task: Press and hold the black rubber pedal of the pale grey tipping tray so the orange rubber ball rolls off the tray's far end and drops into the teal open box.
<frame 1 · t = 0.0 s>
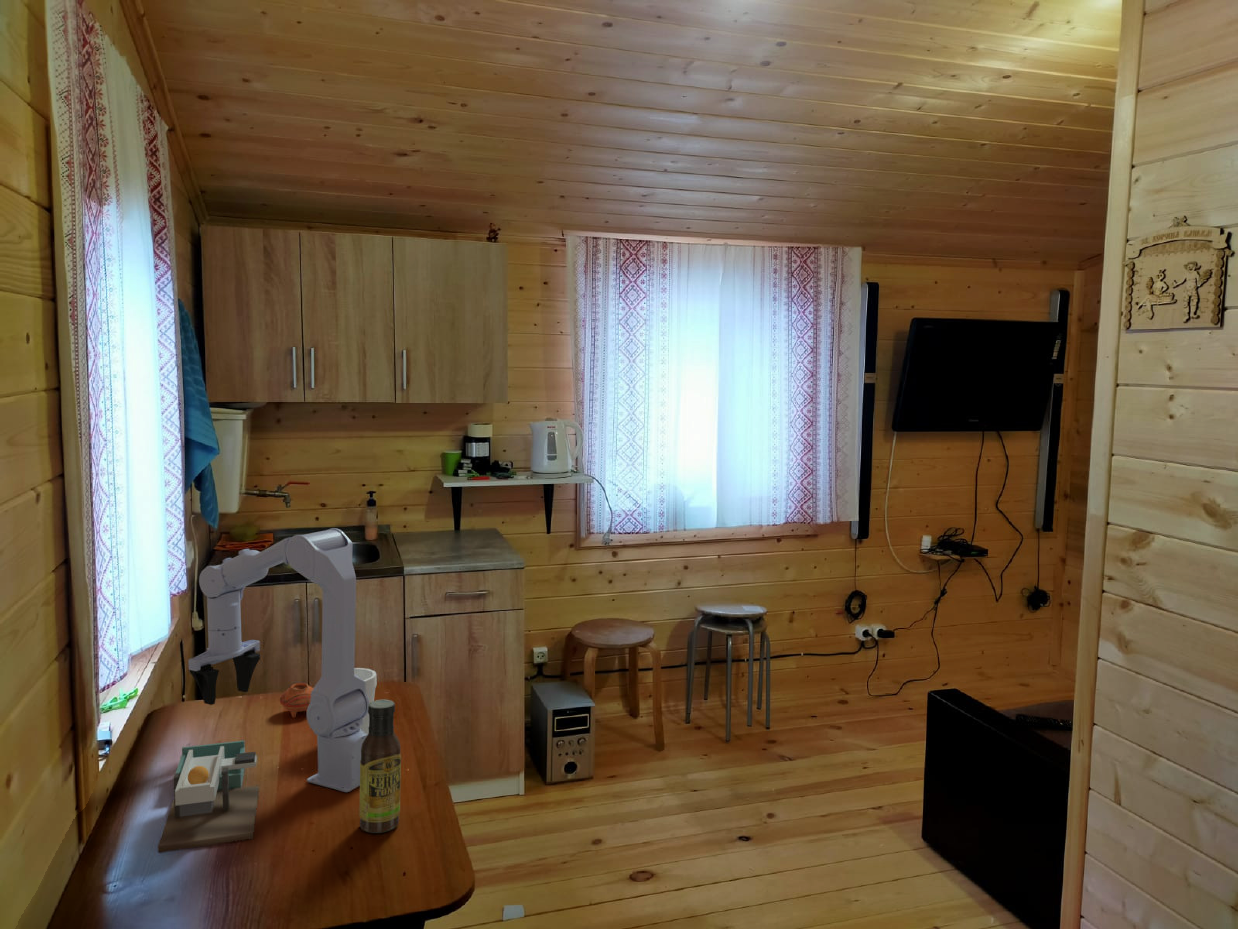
hand: (226, 697, 168), 10 cm above the table, tool pointing down, fingers open, 7 cm apart
ball: (198, 776, 138), point 8 cm above the table, touching tray
sauce bottle: (380, 827, 140), on the table
pot: (300, 714, 188), on the table
stand: (202, 818, 142), on the table
foam cup: (352, 741, 174), on the table
teal open box: (211, 782, 155), on the table
tray: (219, 776, 142), point 6 cm above the table, hinge at 0.0°, touching ball
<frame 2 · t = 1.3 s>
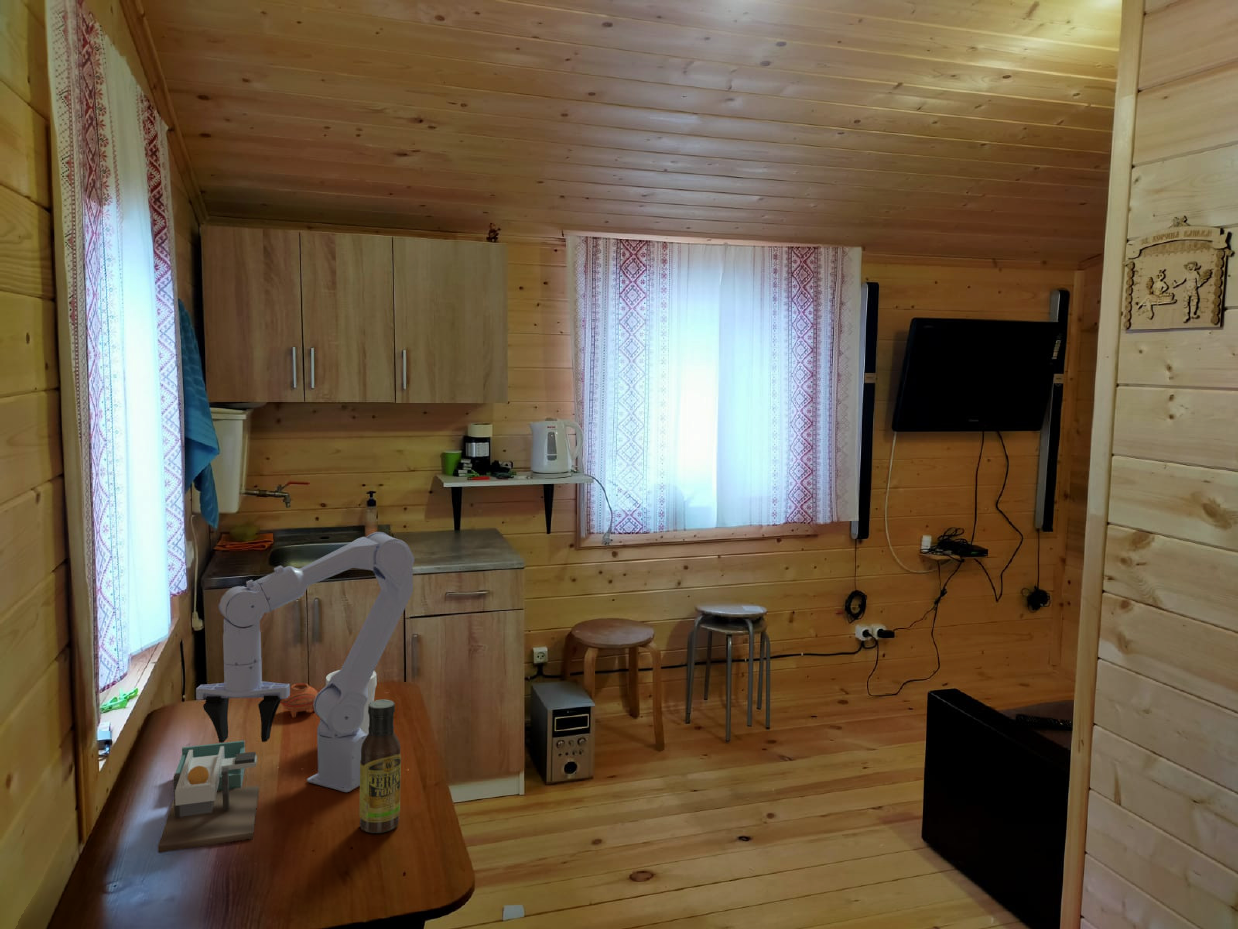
hand: (244, 740, 147), 10 cm above the table, tool pointing down, fingers open, 6 cm apart
nothing on the table moved.
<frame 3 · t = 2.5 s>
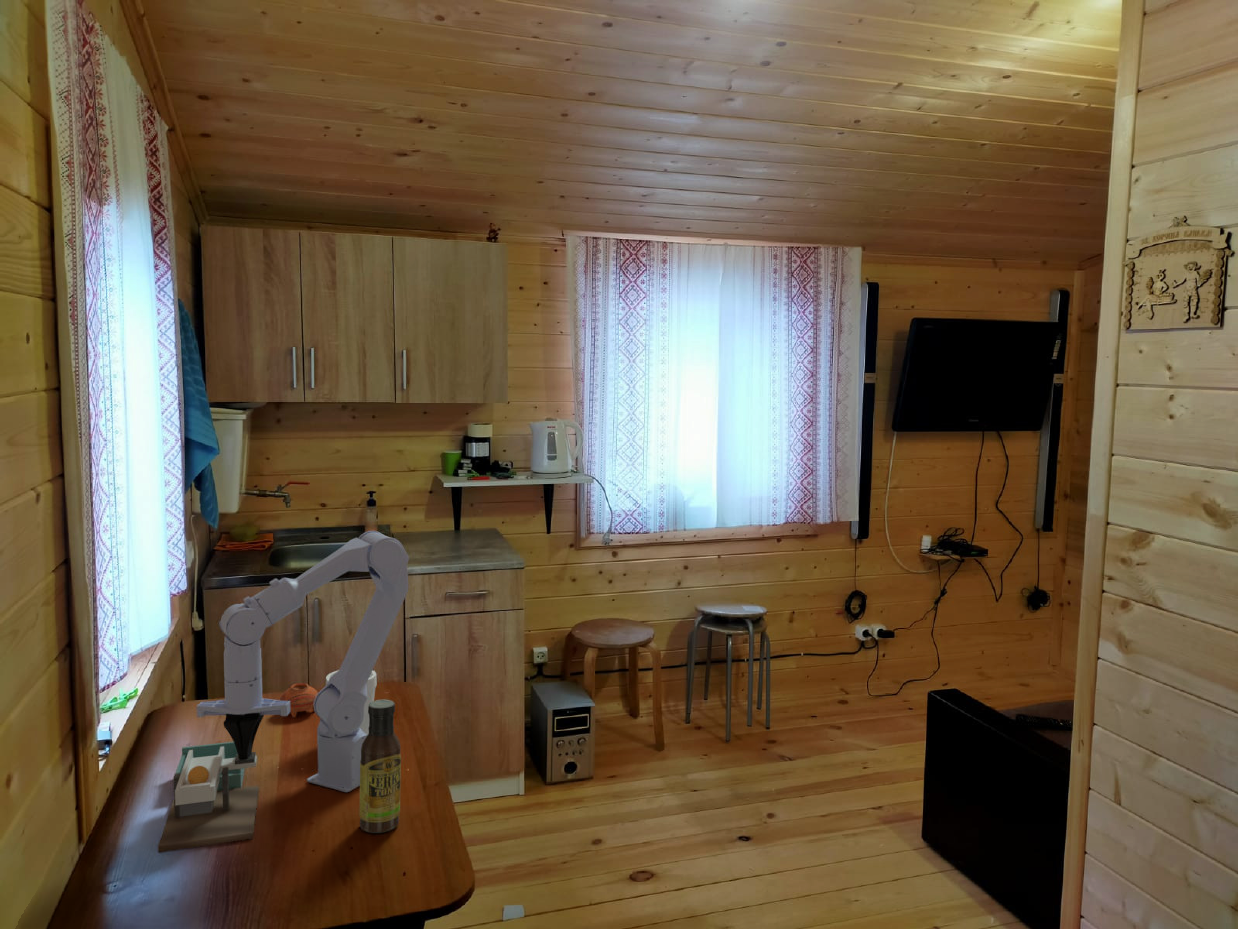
hand: (245, 757, 148), 7 cm above the table, tool pointing down, fingers closed, pressing on tray
tray: (219, 776, 142), point 7 cm above the table, hinge at 0.3°, touching ball, gripper
everything else where it was.
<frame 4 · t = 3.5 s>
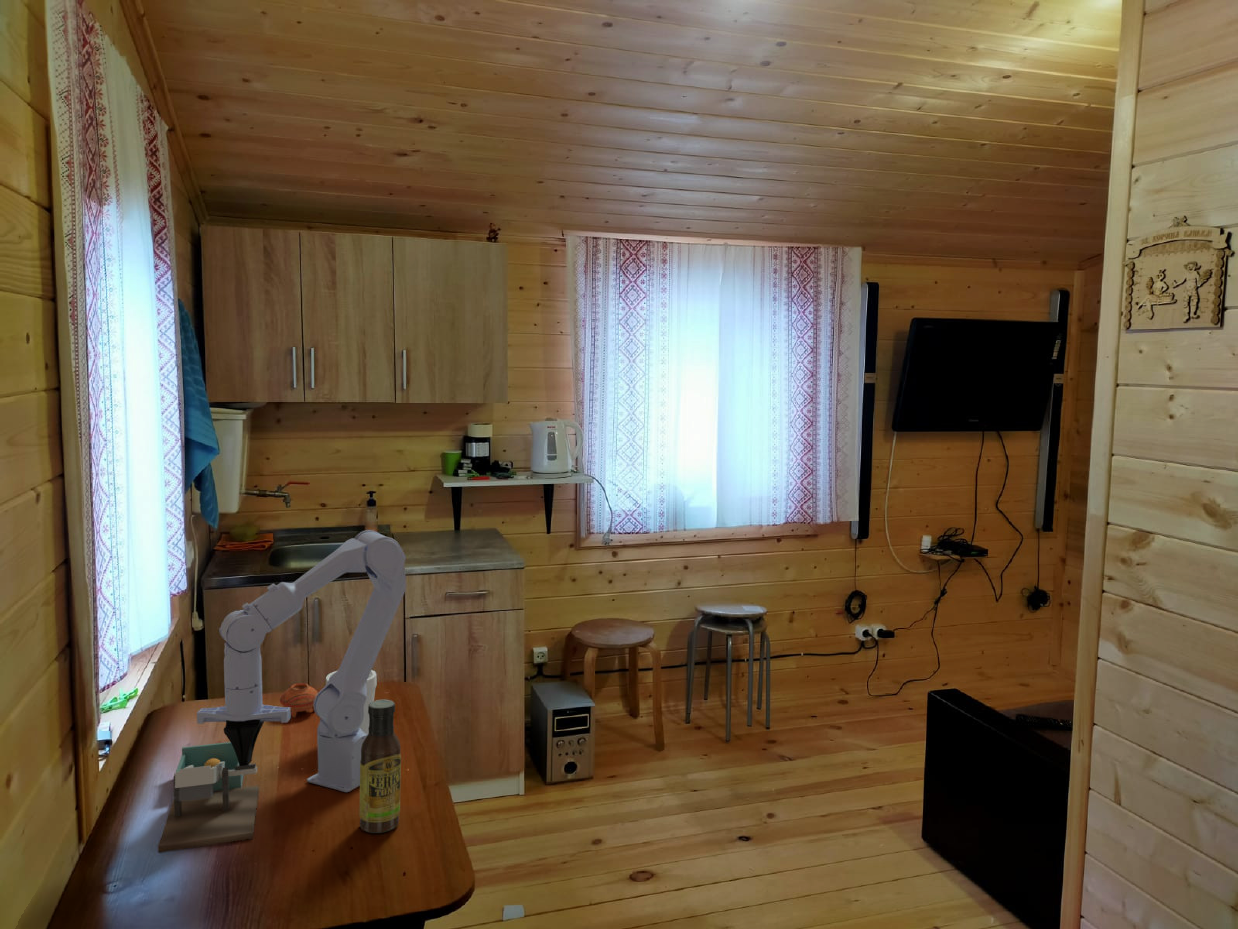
hand: (245, 763, 148), 6 cm above the table, tool pointing down, fingers closed, pressing on tray
ball: (212, 767, 157), point 2 cm above the table, tilted 120°, touching teal open box
tray: (219, 777, 142), point 7 cm above the table, hinge at 19.0°, touching gripper
everything else where it was.
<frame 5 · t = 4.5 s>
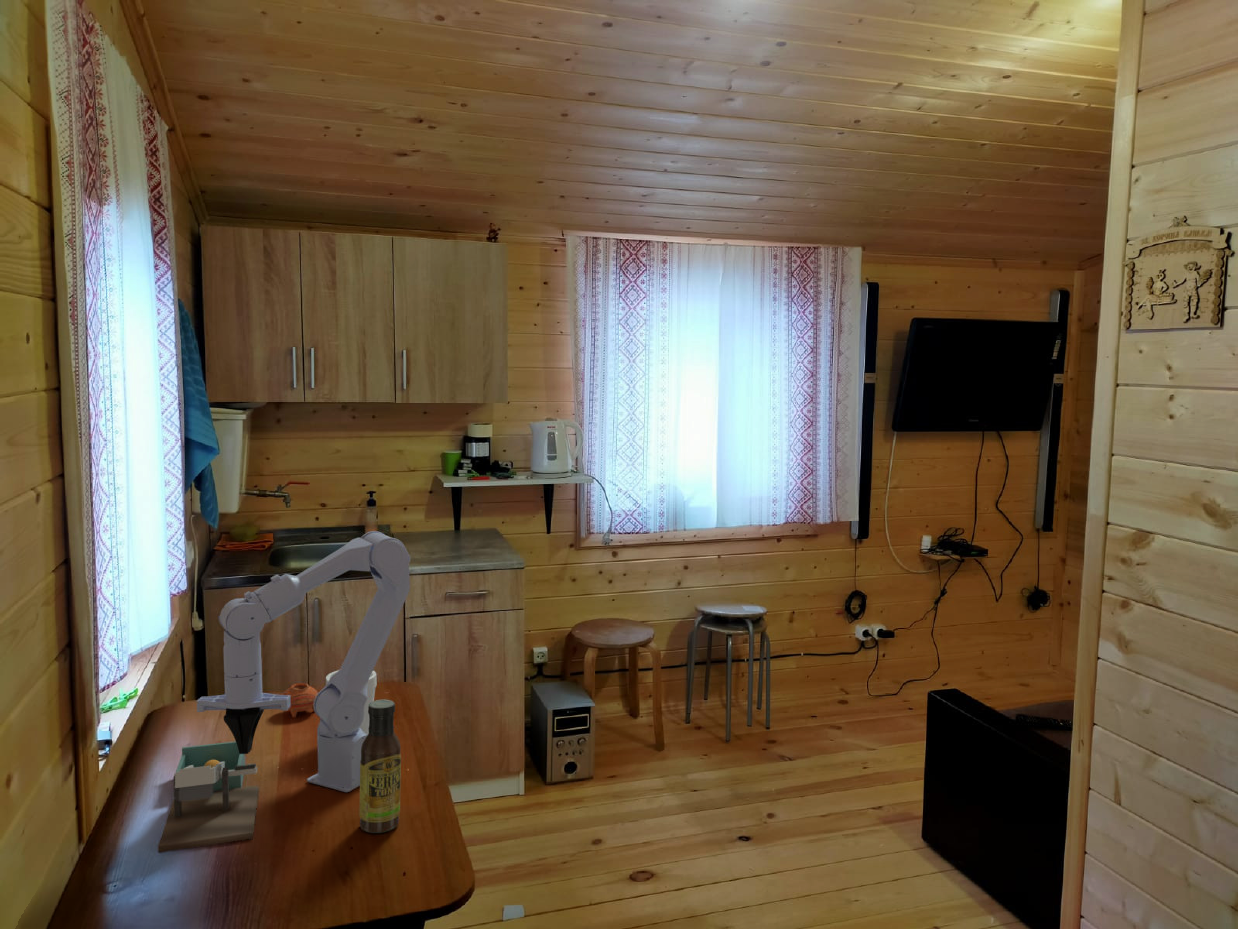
hand: (245, 751, 148), 8 cm above the table, tool pointing down, fingers closed
ball: (212, 768, 156), point 2 cm above the table, tilted 98°, touching teal open box
tray: (219, 777, 142), point 7 cm above the table, hinge at 19.0°
everything else where it was.
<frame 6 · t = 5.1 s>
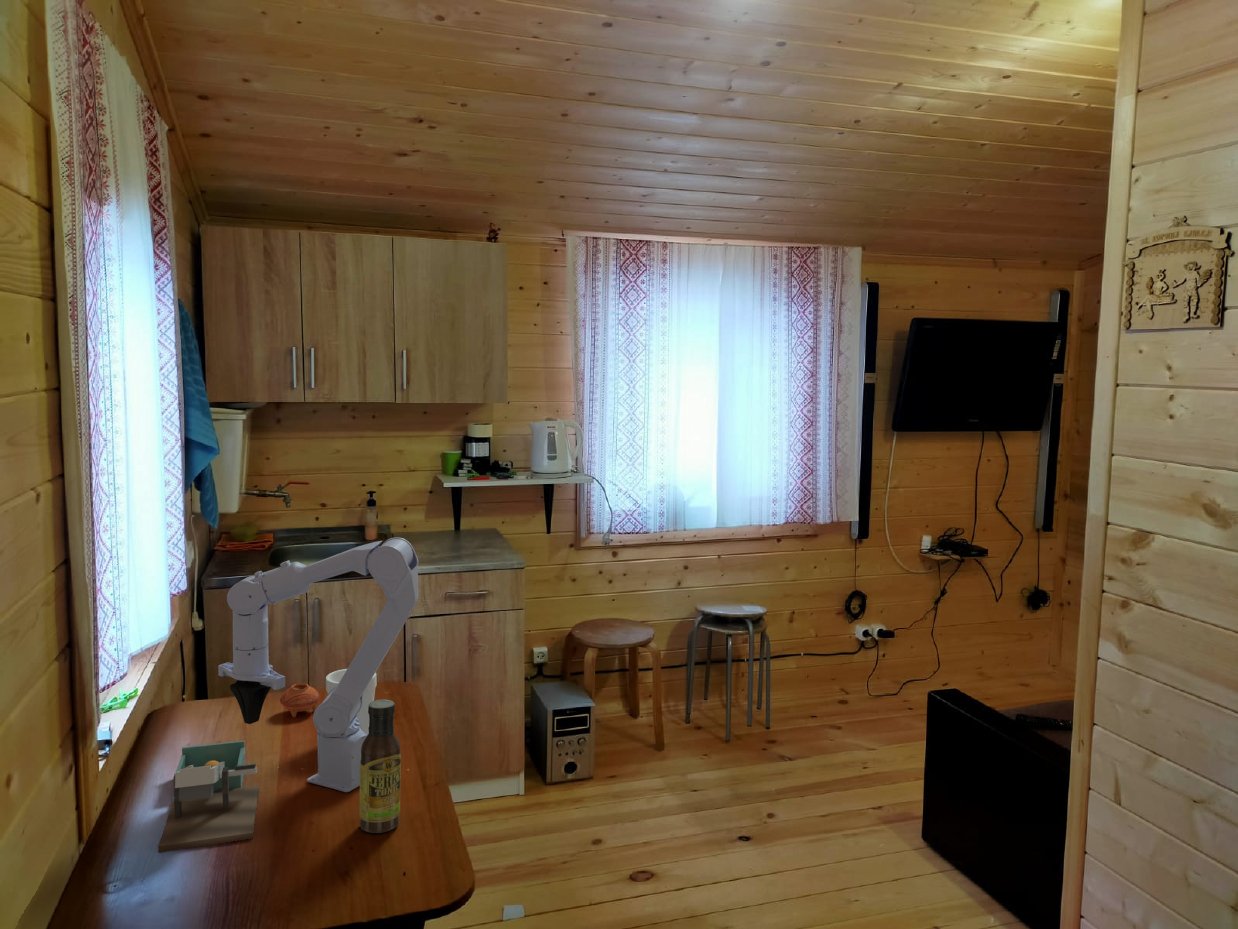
hand: (251, 721, 155), 10 cm above the table, tool pointing down, fingers closed
ball: (212, 769, 156), point 2 cm above the table, tilted 85°, touching teal open box
everything else where it was.
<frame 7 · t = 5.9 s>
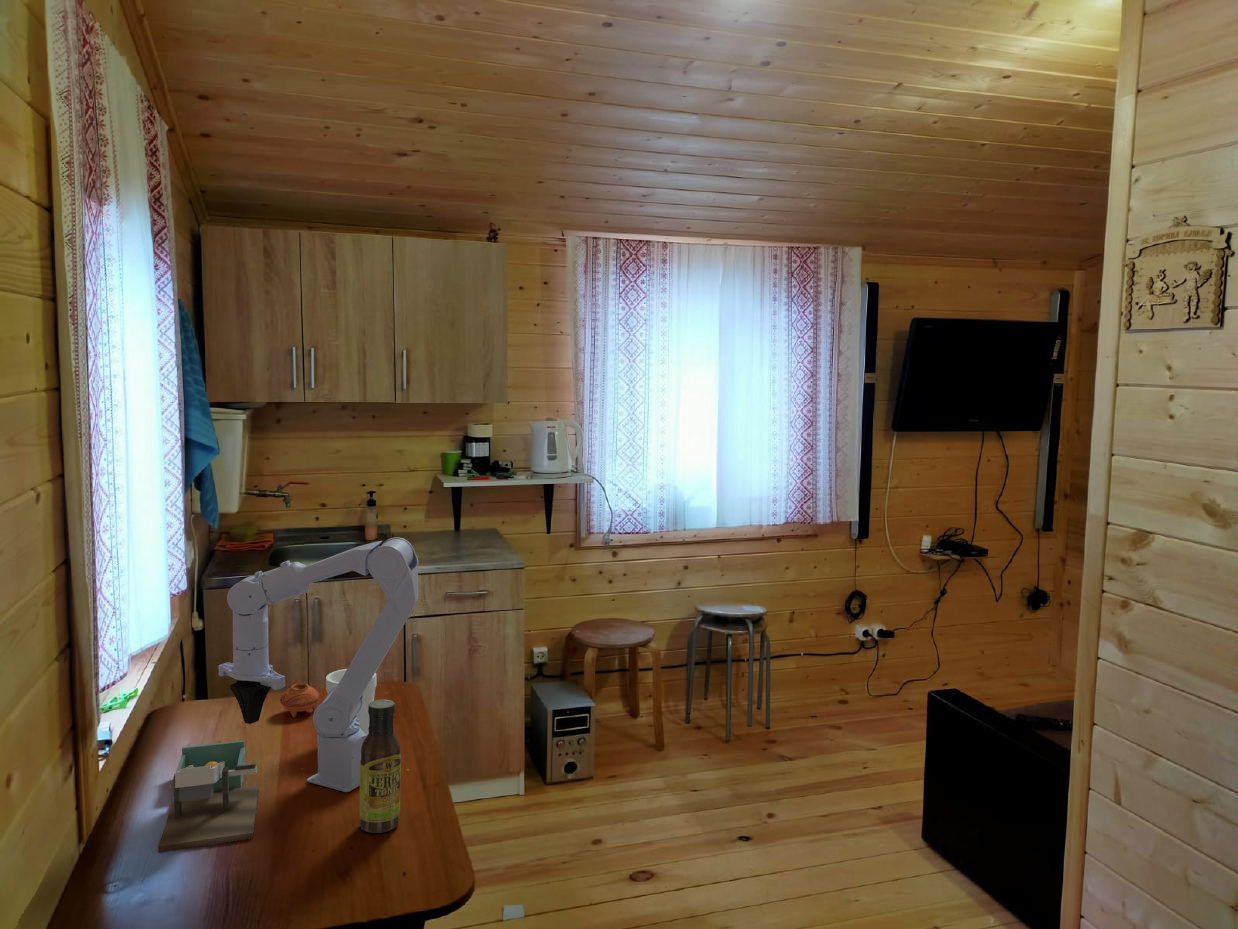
hand: (251, 721, 155), 10 cm above the table, tool pointing down, fingers closed
ball: (211, 770, 155), point 2 cm above the table, tilted 67°, touching teal open box
everything else where it was.
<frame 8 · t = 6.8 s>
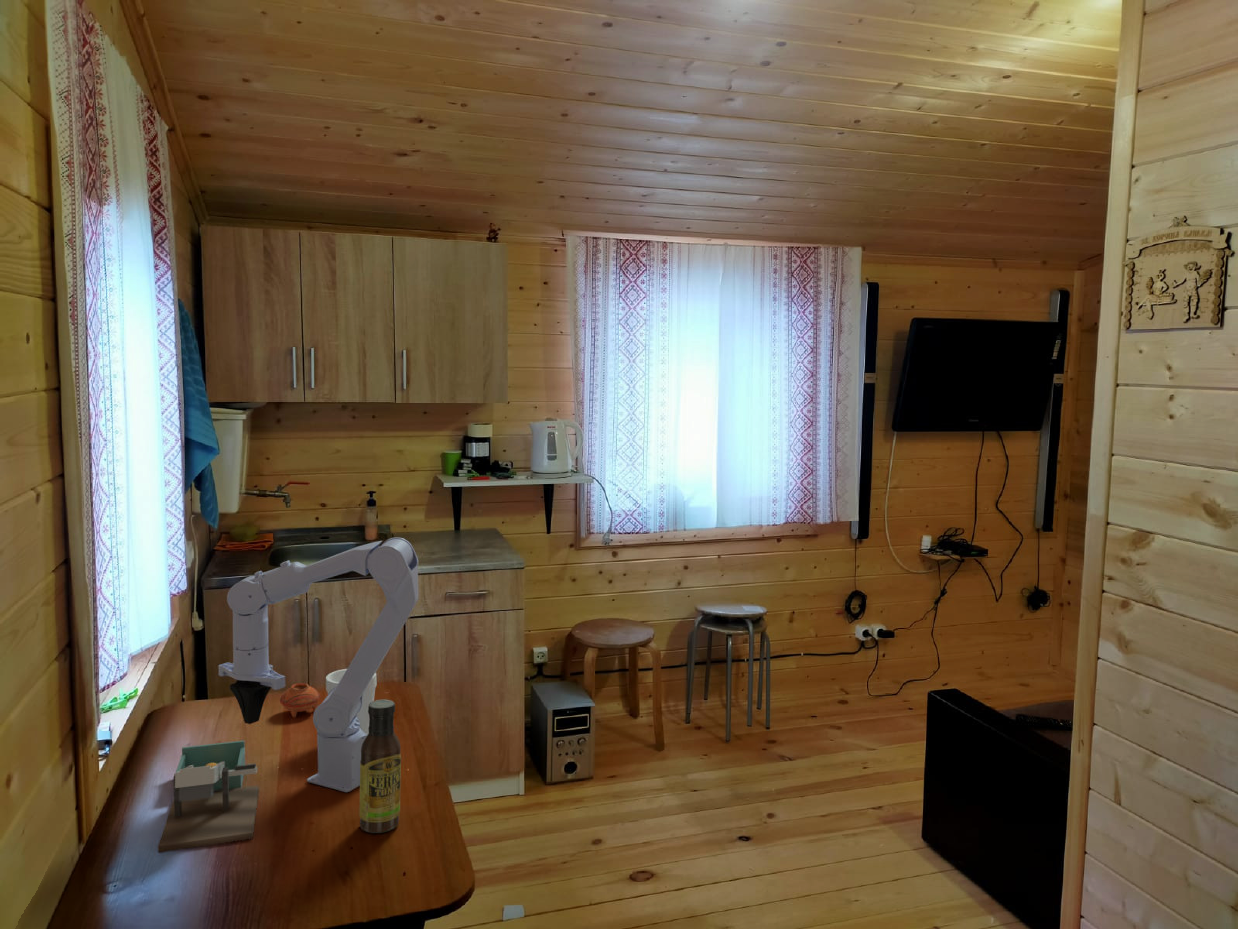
hand: (251, 721, 155), 10 cm above the table, tool pointing down, fingers closed
ball: (211, 771, 155), point 2 cm above the table, tilted 48°, touching teal open box
everything else where it was.
at the end: ball 0.3 cm from the teal open box (horizontally); ball point 1.8 cm above the table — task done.
